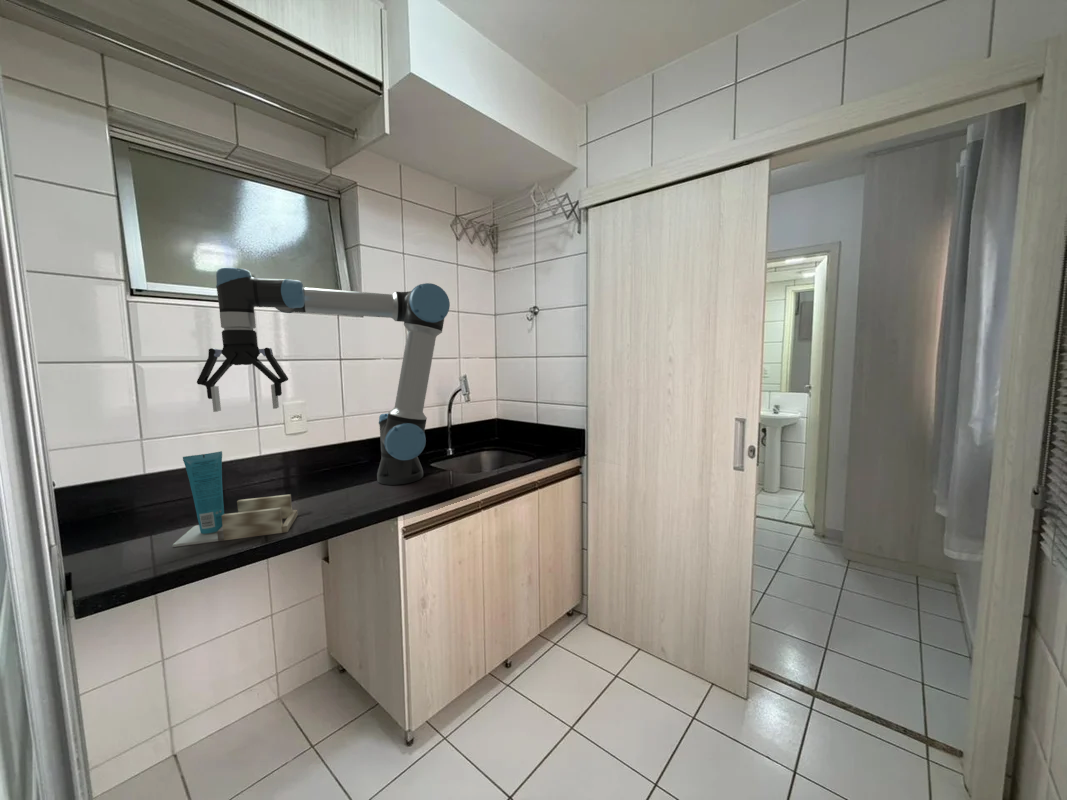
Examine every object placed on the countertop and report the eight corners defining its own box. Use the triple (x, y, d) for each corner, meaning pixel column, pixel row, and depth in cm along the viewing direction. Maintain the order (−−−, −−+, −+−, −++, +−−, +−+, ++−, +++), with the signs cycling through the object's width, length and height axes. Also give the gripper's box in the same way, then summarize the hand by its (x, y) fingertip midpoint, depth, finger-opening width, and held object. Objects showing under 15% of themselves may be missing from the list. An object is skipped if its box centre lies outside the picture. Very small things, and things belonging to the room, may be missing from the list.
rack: (297, 515, 113) (295, 493, 112) (287, 531, 102) (285, 508, 102) (235, 522, 108) (233, 500, 108) (218, 541, 98) (215, 516, 97)
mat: (236, 522, 108) (236, 520, 108) (219, 540, 98) (219, 538, 98) (195, 527, 106) (194, 525, 106) (172, 547, 95) (172, 544, 95)
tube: (228, 523, 107) (219, 449, 105) (233, 527, 103) (224, 452, 101) (191, 532, 101) (181, 455, 99) (195, 538, 98) (184, 458, 96)
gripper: (295, 330, 117) (302, 405, 119) (188, 330, 109) (198, 410, 112) (289, 328, 110) (296, 408, 112) (174, 328, 102) (184, 414, 105)
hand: (247, 409), depth 112 cm, fingers open, 13 cm apart
